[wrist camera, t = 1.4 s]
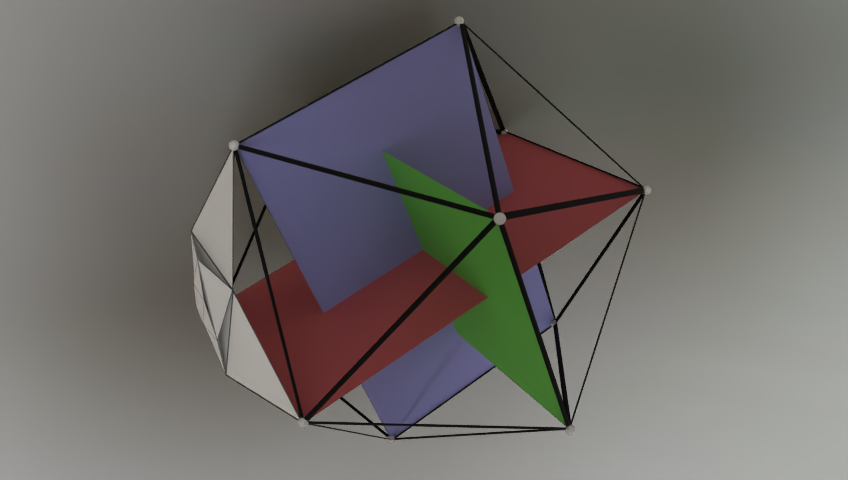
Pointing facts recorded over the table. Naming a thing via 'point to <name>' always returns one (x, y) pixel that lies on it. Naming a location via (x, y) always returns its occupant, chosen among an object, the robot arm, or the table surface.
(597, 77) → the table surface
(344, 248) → the icosahedron model
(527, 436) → the table surface
